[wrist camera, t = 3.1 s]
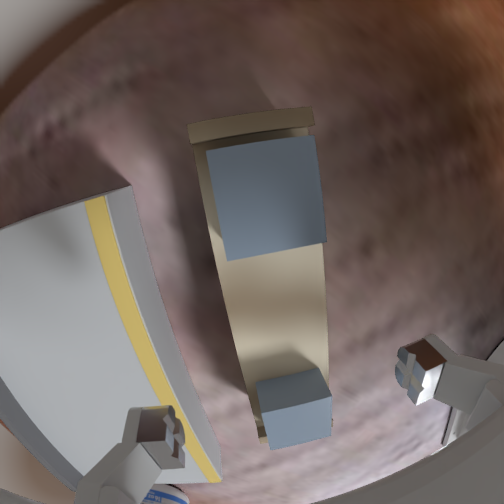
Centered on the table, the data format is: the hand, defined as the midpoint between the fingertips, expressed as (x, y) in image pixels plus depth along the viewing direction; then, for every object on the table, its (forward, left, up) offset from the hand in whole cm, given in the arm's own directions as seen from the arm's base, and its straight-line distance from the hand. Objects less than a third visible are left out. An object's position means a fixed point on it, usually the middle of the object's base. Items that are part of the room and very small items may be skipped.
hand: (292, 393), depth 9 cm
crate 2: (-7, -1, -6) cm, 9 cm away
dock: (-4, +13, -9) cm, 17 cm away
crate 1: (+6, -1, -6) cm, 8 cm away
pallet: (0, -1, -9) cm, 9 cm away
